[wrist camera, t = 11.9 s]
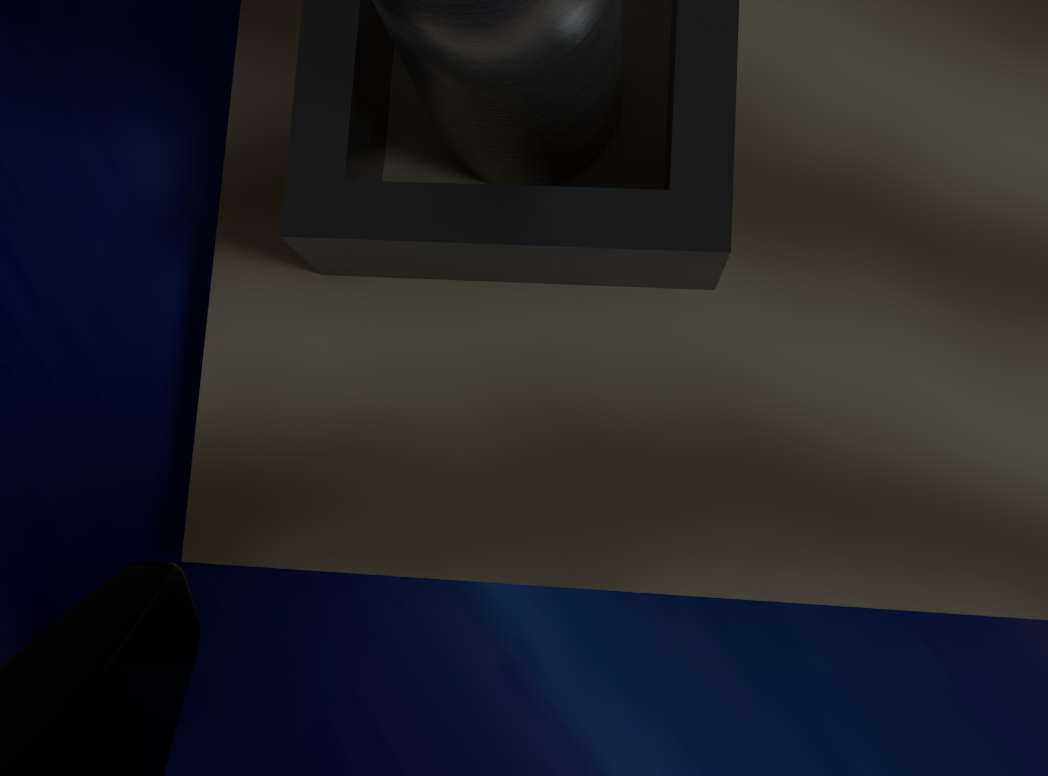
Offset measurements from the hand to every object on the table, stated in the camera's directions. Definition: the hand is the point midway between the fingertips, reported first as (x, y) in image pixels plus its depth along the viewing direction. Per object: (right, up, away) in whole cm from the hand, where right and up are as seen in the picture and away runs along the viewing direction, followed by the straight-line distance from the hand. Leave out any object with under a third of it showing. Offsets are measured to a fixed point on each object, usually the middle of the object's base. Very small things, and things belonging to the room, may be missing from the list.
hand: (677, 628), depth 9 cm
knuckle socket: (-1, +9, +14) cm, 17 cm away
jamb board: (+5, +5, +14) cm, 16 cm away
